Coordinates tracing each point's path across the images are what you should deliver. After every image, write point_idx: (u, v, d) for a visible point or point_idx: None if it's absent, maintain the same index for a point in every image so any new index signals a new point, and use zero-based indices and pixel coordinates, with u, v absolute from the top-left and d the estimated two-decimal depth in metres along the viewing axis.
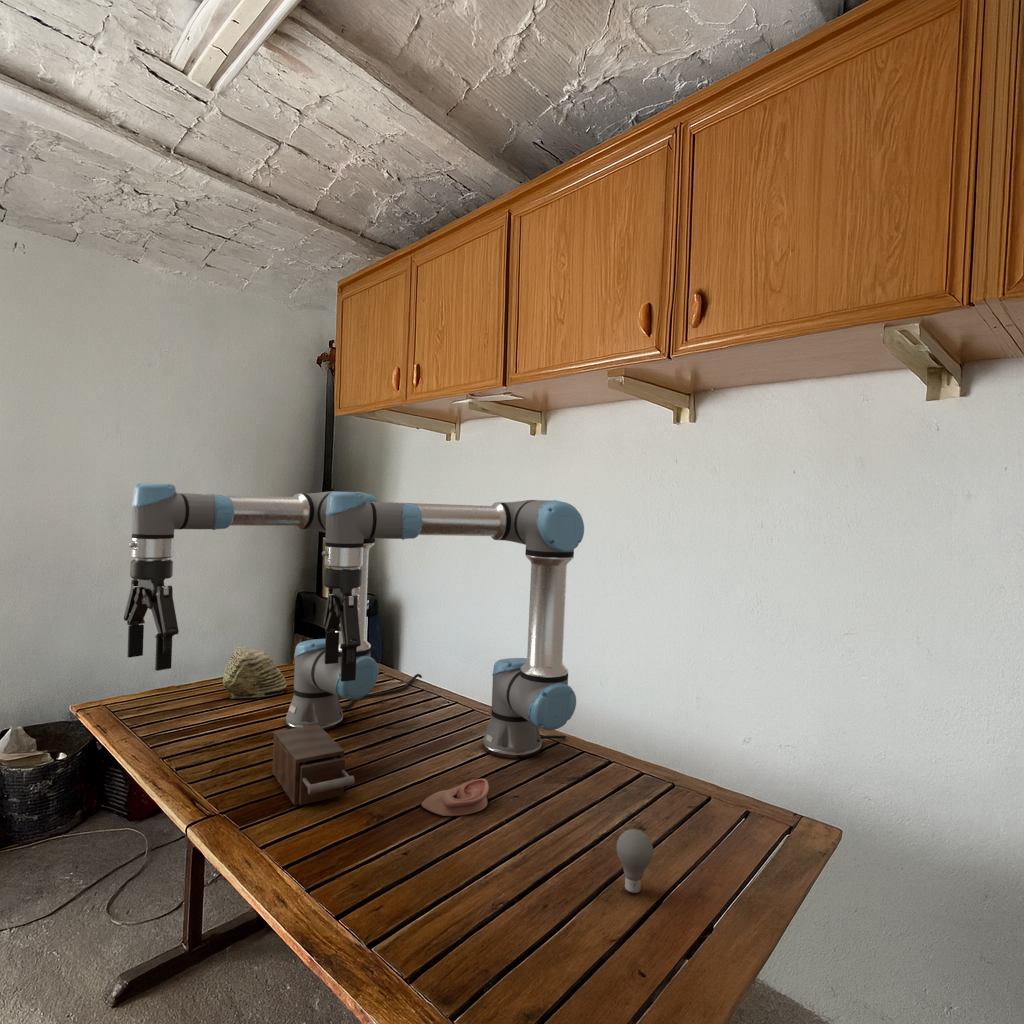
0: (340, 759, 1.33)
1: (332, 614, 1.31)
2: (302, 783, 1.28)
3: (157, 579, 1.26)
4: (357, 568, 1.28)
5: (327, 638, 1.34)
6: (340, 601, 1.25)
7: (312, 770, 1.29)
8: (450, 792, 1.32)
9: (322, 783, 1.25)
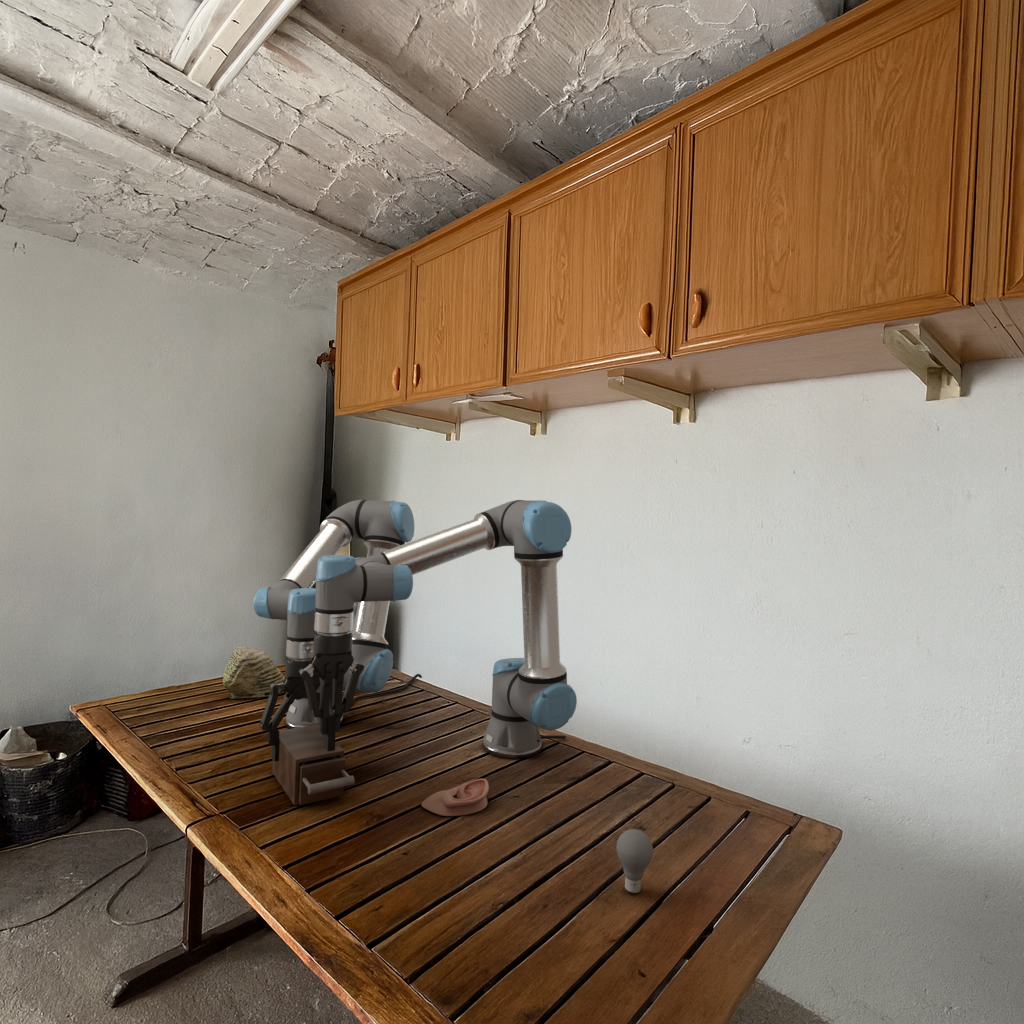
0: (340, 759, 1.33)
1: None
2: (302, 783, 1.28)
3: None
4: None
5: None
6: (348, 663, 1.28)
7: (312, 770, 1.29)
8: (450, 792, 1.32)
9: (322, 783, 1.25)
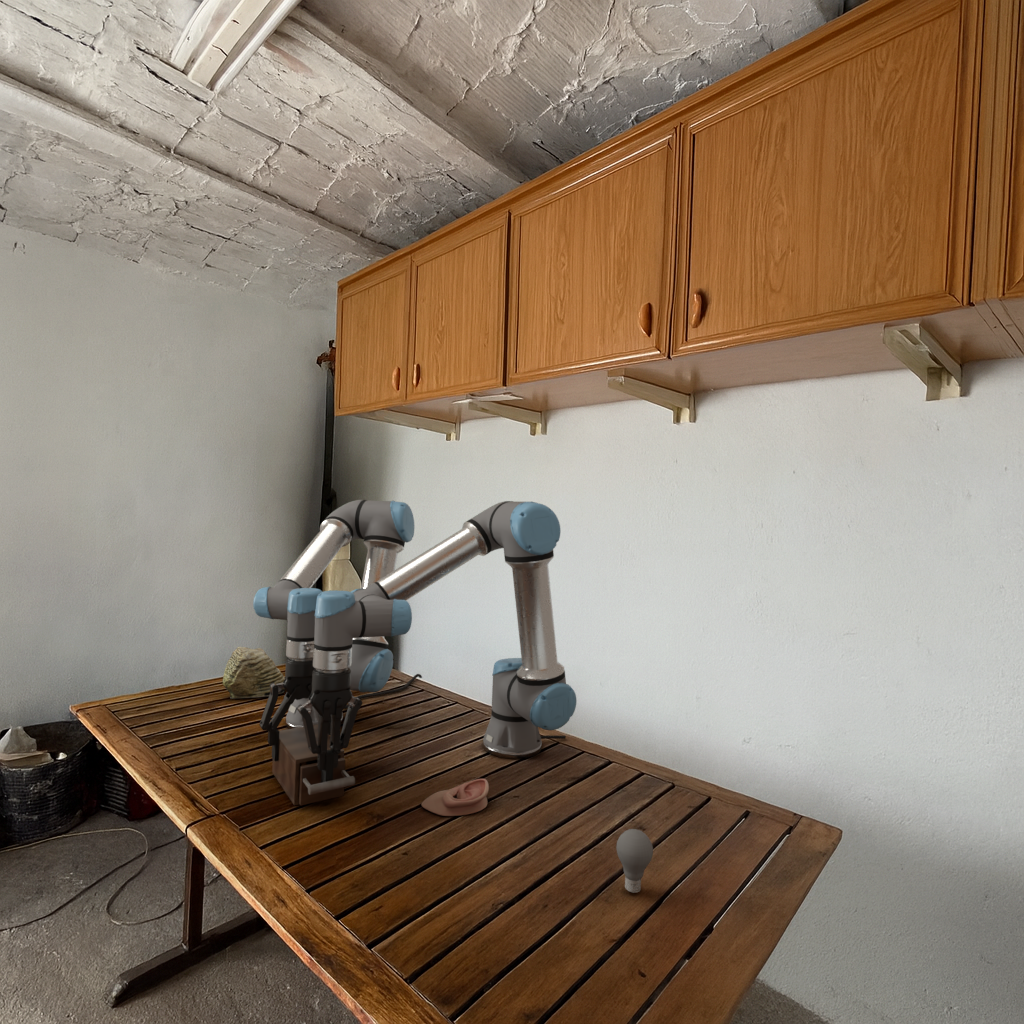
0: (340, 759, 1.33)
1: None
2: (302, 783, 1.28)
3: None
4: None
5: None
6: (347, 699, 1.28)
7: (313, 771, 1.29)
8: (450, 792, 1.32)
9: (322, 783, 1.25)
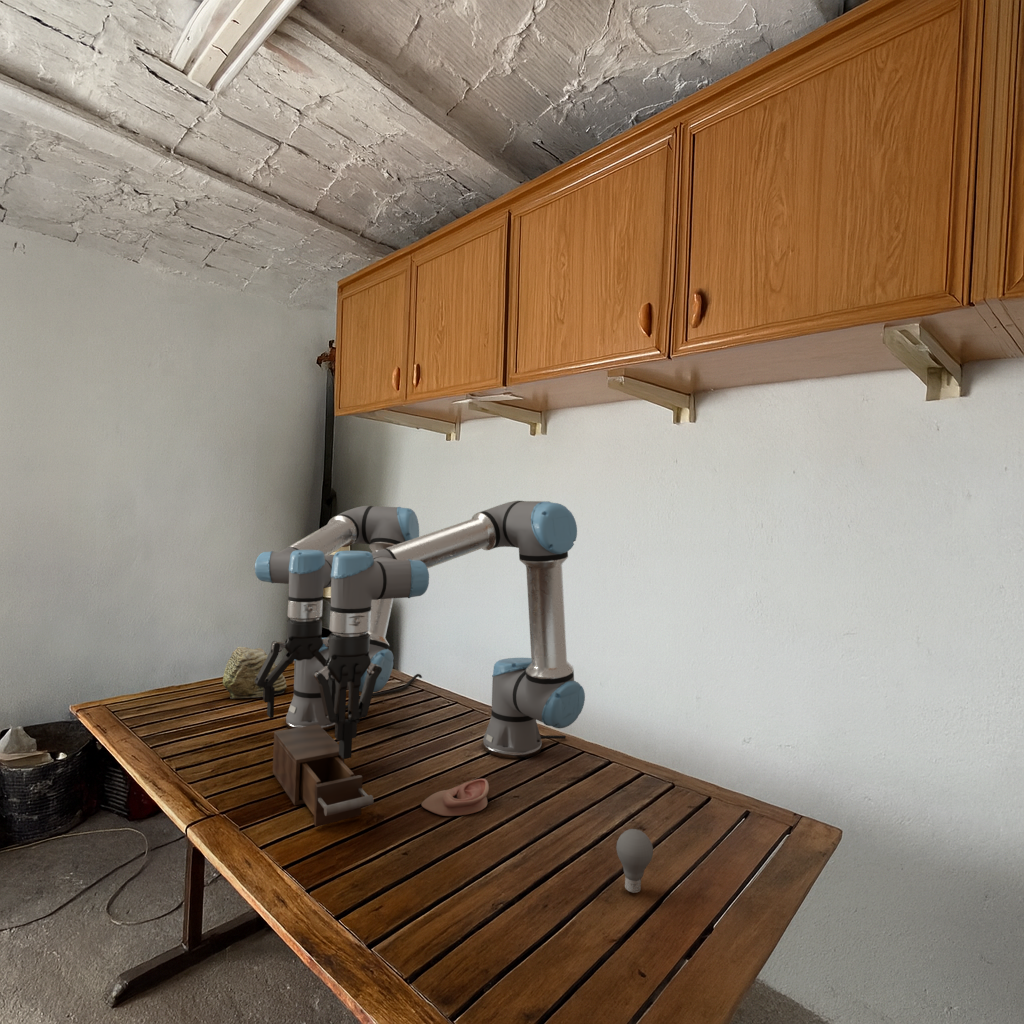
0: (357, 777, 1.25)
1: None
2: (317, 803, 1.20)
3: None
4: None
5: None
6: (365, 665, 1.21)
7: (328, 789, 1.21)
8: (450, 792, 1.32)
9: (339, 804, 1.17)
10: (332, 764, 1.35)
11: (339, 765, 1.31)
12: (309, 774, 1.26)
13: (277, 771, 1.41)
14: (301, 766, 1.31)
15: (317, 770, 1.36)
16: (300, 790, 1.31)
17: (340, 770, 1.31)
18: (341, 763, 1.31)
